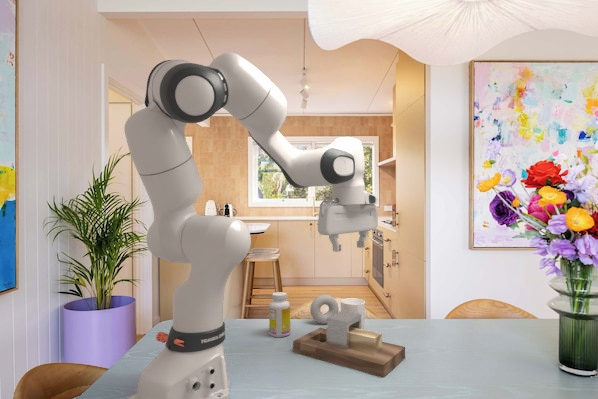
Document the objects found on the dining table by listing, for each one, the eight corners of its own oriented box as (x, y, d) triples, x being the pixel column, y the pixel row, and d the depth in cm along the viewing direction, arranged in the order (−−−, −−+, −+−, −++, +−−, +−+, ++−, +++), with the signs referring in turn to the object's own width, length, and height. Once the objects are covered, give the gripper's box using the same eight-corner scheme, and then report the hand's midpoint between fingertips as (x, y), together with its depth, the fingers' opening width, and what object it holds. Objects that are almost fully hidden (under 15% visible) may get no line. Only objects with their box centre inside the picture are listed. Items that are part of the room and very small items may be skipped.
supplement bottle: (291, 331, 125) (291, 291, 125) (289, 338, 118) (288, 296, 118) (271, 330, 126) (271, 291, 126) (267, 337, 119) (267, 296, 119)
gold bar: (374, 354, 98) (374, 338, 98) (326, 342, 107) (326, 327, 107) (382, 348, 102) (381, 333, 102) (334, 337, 110) (334, 323, 110)
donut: (336, 321, 135) (336, 292, 135) (340, 324, 131) (339, 294, 132) (309, 323, 133) (309, 294, 133) (311, 326, 129) (311, 296, 129)
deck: (383, 377, 92) (383, 365, 92) (293, 351, 108) (293, 341, 108) (405, 358, 103) (405, 346, 103) (320, 337, 119) (320, 327, 119)
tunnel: (346, 350, 101) (346, 321, 101) (327, 345, 104) (327, 317, 104) (361, 340, 108) (361, 314, 108) (342, 336, 111) (342, 310, 111)
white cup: (360, 338, 118) (360, 305, 118) (336, 333, 122) (336, 302, 122) (368, 330, 125) (368, 299, 125) (346, 326, 129) (346, 296, 129)
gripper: (329, 199, 94) (329, 255, 95) (381, 197, 108) (382, 246, 108) (311, 198, 99) (312, 252, 100) (364, 197, 112) (364, 244, 113)
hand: (349, 249), depth 104 cm, fingers open, 8 cm apart
